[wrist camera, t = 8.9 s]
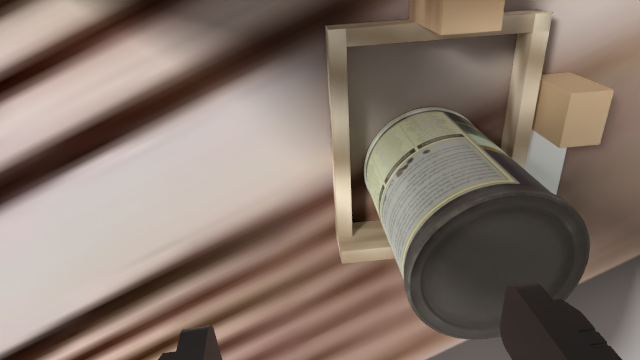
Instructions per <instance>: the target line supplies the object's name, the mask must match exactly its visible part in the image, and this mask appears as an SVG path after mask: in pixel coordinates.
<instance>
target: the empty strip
mask: <svg viewBox="0 0 640 360" xmlns="http://www.w3.org/2000/svg"><path fill="white" fill-rule="evenodd" d="M613 93H614V90H613V89H611V88H608V87H606V86H603V85H601V84H598V83H596V82H593V81H591V80H588V79H586V78H583V77H581V76H578V75H576V74H573V73H571V72H566V73H554V74H542V75H541V80H540V86H539V91H538V97H537V102H536V108H535V114H534V119H533V125H532V130H531V136H530V141H529V147H528V152H527V158H526V163H525V170H526V171H527V172H528V173H529V174H530V175H532V176H533V177H534V178H535V179H536V180H537V181H539V182H540V183H541V184H542V185H543V186H544V187H545V188H547V189H548V190H549V191H550V192H551V193H553V194H555V195H556V194H557V190H558V185H559V181H560V176H561V172H562V168H563V163H564V159H565V154H566V150H567V147H577V146H588V145H599V144H600V142H601V138H602V134H603V131H604V127H605V123H606V119H607V115H608V112H609V108H610V104H611V100H612V96H613Z"/></svg>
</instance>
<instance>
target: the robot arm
mask: <svg viewBox="0 0 640 360" xmlns="http://www.w3.org/2000/svg"><path fill="white" fill-rule="evenodd" d="M500 333H501V338H502V341H503V344H504V346H505V348H506V350H507V352H508V353H509V355H510V357H511V358H512V360H622V359H621V358H620V357H619V356H618V355H617V353H616V352H615V351H614V350H613V349H612V348H611V346H608V345H607V342H606V341H605V339H604V338H603V337H602V336H601V335H600V334H599V332H596V331H595V328H594V327H593V325H592V324H591V323H590V322H589V321H588V320H587V318H586V317H585V316H584V315H583V314H582V313H581V312H580V311H579V310H577V309H576V308H574V307H573V306H571V305H569V304H568V303H567V302H565V301H564V300H562V299H556V300H553V299H552V298H551V296H550V295H549V294H548V293H547V291H546V290H545V289H544V288H543V287H542V286H541V285H540V284H539V283H537V282H532V283H524V284H517V285H510V286H508V287H507V288H506V291H505V297H504V303H503V309H502V315H501V321H500ZM158 360H222V357H221V354H220V350H219V346H218V343H217V339H216V336H215V332H214V329H213V327H212V326H204V327H196V328H189V329H183V330H182V331H181V334H180V338H179V342H178V346H177V350H176V352H169V353H163V354H162V355H161V356H160V358H159V359H158Z"/></svg>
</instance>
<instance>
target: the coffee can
mask: <svg viewBox="0 0 640 360" xmlns="http://www.w3.org/2000/svg"><path fill="white" fill-rule="evenodd" d="M364 179H365V184H366V187H367V189H368V191H369V193H370V195H371V197H372V200H373V202H374V205H375V208H376V211H377V213H378V215H379V218H380V221H381V223H382V226H383V229H384V231H385V233H386V236H387V239H388V241H389V244H390V247H391V249H392V252H393V255H394V257H395V260H396V263H397V266H398V268H399V270H400V273H401V275H402V278H403V280H404V286H405V291H406V295H407V298H408V301H409V303H410V305H411V307H412V309H413V311H414V312H415V314H416V315H417V316H418V317H419V318H420V319H421V320H422V321H423V322H424V323H425V324H426V325H428V326H429V327H431V328H432V329H434V330H436V331H437V332H439V333H442V334H445V335H447V336H451V337H455V338H461V339H488V338H495V337H500V336H501V333H500V321H501V315H502V309H503V303H504V297H505V291H506V288H507V287H508V286H510V285H517V284H524V283H532V282H537V283H539V284H540V285H541V286H542V287H543V288H544V289H545V290H546V291H547V293H548V294H549V295H550V296H551V298H552V299H553V300H556V299H562V300H565V299H566V298H568V296H569V295H570V294H571V293H572V291H573V290H574V288H575V287H576V286H577V284H578V282H579V281H580V279H581V277H582V275H583V273H584V270H585V267H586V265H587V262H588V258H589V249H590V242H589V235H588V231H587V228H586V225H585V223H584V221H583V219H582V218H581V216H580V215H579V214H578V212H577V211H576V210H575V209H574V208H573V207H572V206H570V205H569V204H568V203H567V202H565V201H564V200H563V199H562V198H560V197H558V196H557V195H555V194H553V193H551V192H550V191H549V190H548V189H547V188H545V187H544V186H543V185H542V184H541V183H540V182H539V181H537V180H536V179H535V178H534V177H533V176H532V175H530V174H529V173H528V172H527V171H526V170H525V169H523V168H522V167H521V166H520V165H519V164H517V163H516V162H515V161H514V160H513V159H512V158H511V157H509V156H508V155H507V154H506V153H505V152H504V151H502V150H501V149H500V148H499V147H498V146H497V145H495V144H494V143H493V142H492V141H491V140H490V139H489V138H487V137H486V136H485V135H484V134H483V133H482V132H481V131H479V130H478V129H477V128H476V127H475V126H474V125H473V124H472V123H471V122H470V121H469V120H468V119H467V118H465V117H464V116H462V115H461V114H459V113H457V112H455V111H452V110H449V109H445V108H440V107H427V108H420V109H415V110H412V111H409V112H406V113H404V114H402V115H400V116H398V117H397V118H395V119H393V120H392V121H390V122H389V123H388V124H387V125H386V126H385V127H384V128H383V129H382V130H381V131H380V132H379V133H378V134H377V135H376V137H375V138H374V140H373V141H372V143H371V145H370V147H369V149H368V151H367V154H366V158H365V162H364Z"/></svg>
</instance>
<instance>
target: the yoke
mask: <svg viewBox="0 0 640 360" xmlns="http://www.w3.org/2000/svg"><path fill="white" fill-rule="evenodd" d="M504 5H505V0H409V11H408V19H405V20H392V21H379V22H366V23H353V24H340V25H327V26H325V33H326V52H327V71H328V90H329V109H330V128H331V147H332V166H333V185H334V204H335V223H336V237H337V242H338V247H339V252H340V257H341V261H342V264H343V263H353V262H362V261H372V260H382V259H391V258H395V257H394V255H393V252H392V249H391V247H390V244H389V241H388V239H387V236H386V233H385V231H384V229H383V226H382V223H381V221H380V220H375V221H365V222H355V223H352V208H351V175H350V143H349V111H348V79H347V47H354V46H366V45H379V44H391V43H404V42H417V41H429V40H442V39H454V38H467V37H480V36H492V35H505V34H517V33H518V34H517V41H516V47H515V54H514V61H513V68H512V75H511V81H510V88H509V95H508V102H507V108H506V115H505V122H504V129H503V135H502V142H501V150H502V151H504V152H505V153H506V154H507V155H508V156H509V157H511V158H512V159H513V160H514V161H515V162H516V163H517V164H519V165H520V166H521V167H522V168H523V169H525V163H526V158H527V152H528V147H529V141H530V136H531V130H532V125H533V119H534V114H535V108H536V102H537V97H538V91H539V86H540V80H541V75H542V69H543V64H544V58H545V53H546V47H547V41H548V36H549V30H550V25H551V19H552V14H553V12H548V11H543V10H538V9H535V10H522V11H509V12H504Z"/></svg>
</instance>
